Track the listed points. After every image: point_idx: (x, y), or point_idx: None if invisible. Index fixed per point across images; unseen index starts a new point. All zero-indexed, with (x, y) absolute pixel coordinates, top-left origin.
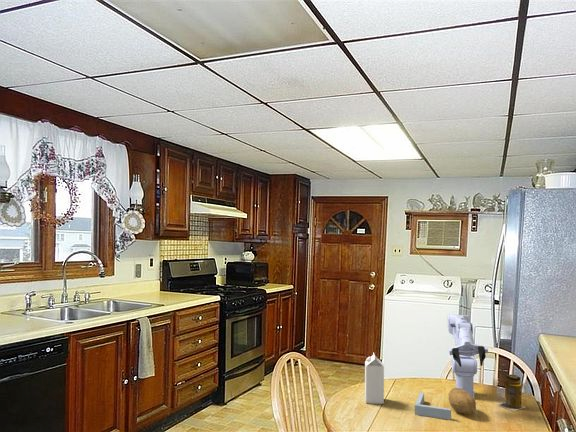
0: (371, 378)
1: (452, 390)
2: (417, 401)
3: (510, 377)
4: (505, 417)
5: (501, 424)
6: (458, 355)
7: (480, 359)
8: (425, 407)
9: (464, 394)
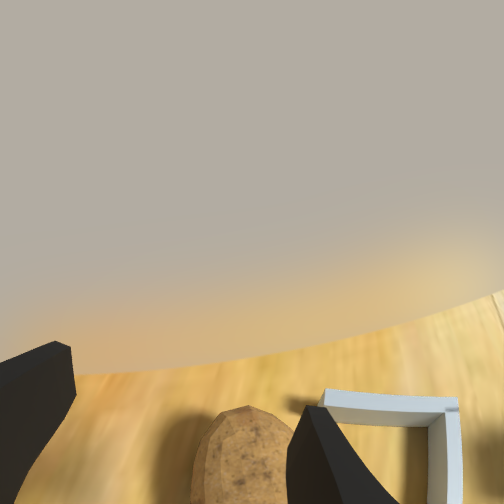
0: None
1: None
2: (457, 440)
3: None
4: (83, 458)
5: (129, 395)
6: (352, 492)
7: (47, 353)
8: (420, 398)
9: (254, 455)
